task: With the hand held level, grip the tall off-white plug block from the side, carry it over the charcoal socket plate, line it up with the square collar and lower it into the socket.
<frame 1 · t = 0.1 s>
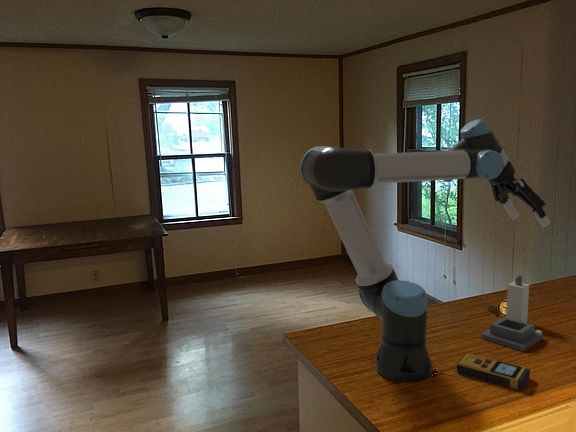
hand: (530, 221, 149), 36 cm above the kitchen counter, fingers open, 13 cm apart
plug: (516, 321, 163), on the kitchen counter
electronic device: (491, 377, 128), on the kitchen counter
socket: (511, 338, 150), on the kitchen counter
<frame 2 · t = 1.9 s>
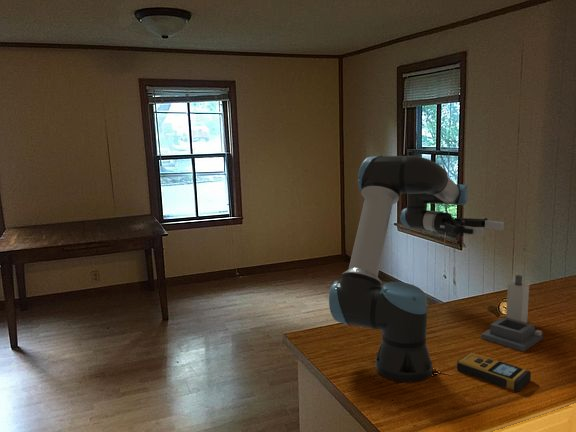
hand: (493, 229, 164), 30 cm above the kitchen counter, fingers open, 13 cm apart
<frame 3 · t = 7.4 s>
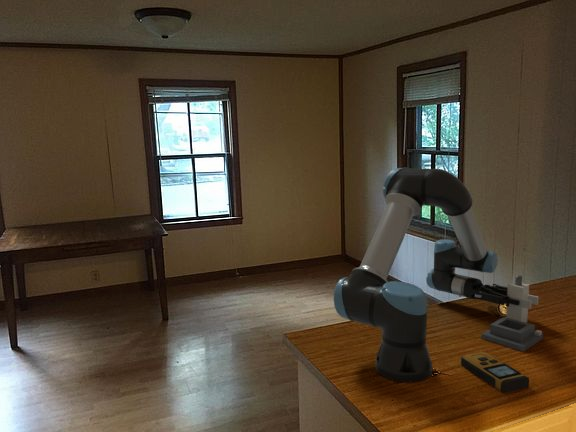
hand: (534, 302, 157), 8 cm above the kitchen counter, fingers closed on plug, 4 cm apart
plug: (516, 321, 163), on the kitchen counter, touching gripper
when the fingers open (10 cm above the kitchen counter, at t = 13.6 s): plug stays where it is, resting on socket.
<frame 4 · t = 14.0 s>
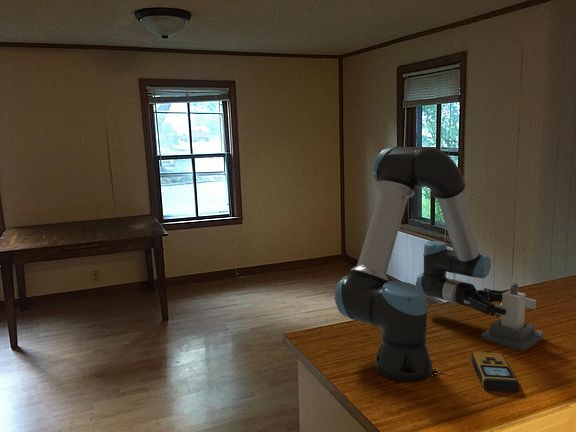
hand: (526, 309, 145), 10 cm above the kitchen counter, fingers open, 11 cm apart
plug: (511, 333, 150), point 1 cm above the kitchen counter, touching socket
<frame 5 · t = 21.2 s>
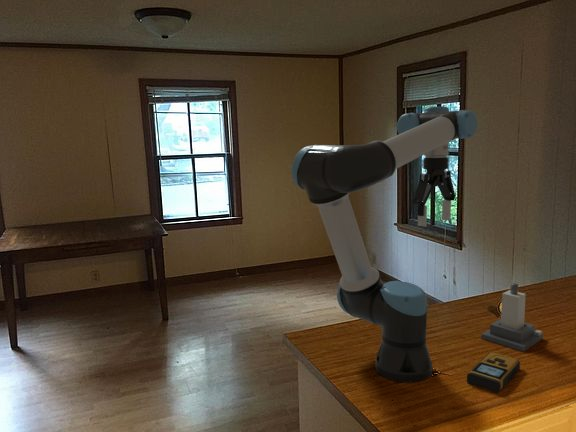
hand: (434, 223, 156), 35 cm above the kitchen counter, fingers open, 13 cm apart
at the end: plug 0.0 cm off-centre on the socket, point 1.5 cm above the socket's base; plug tilted 0°; the gripper is holding nothing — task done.
